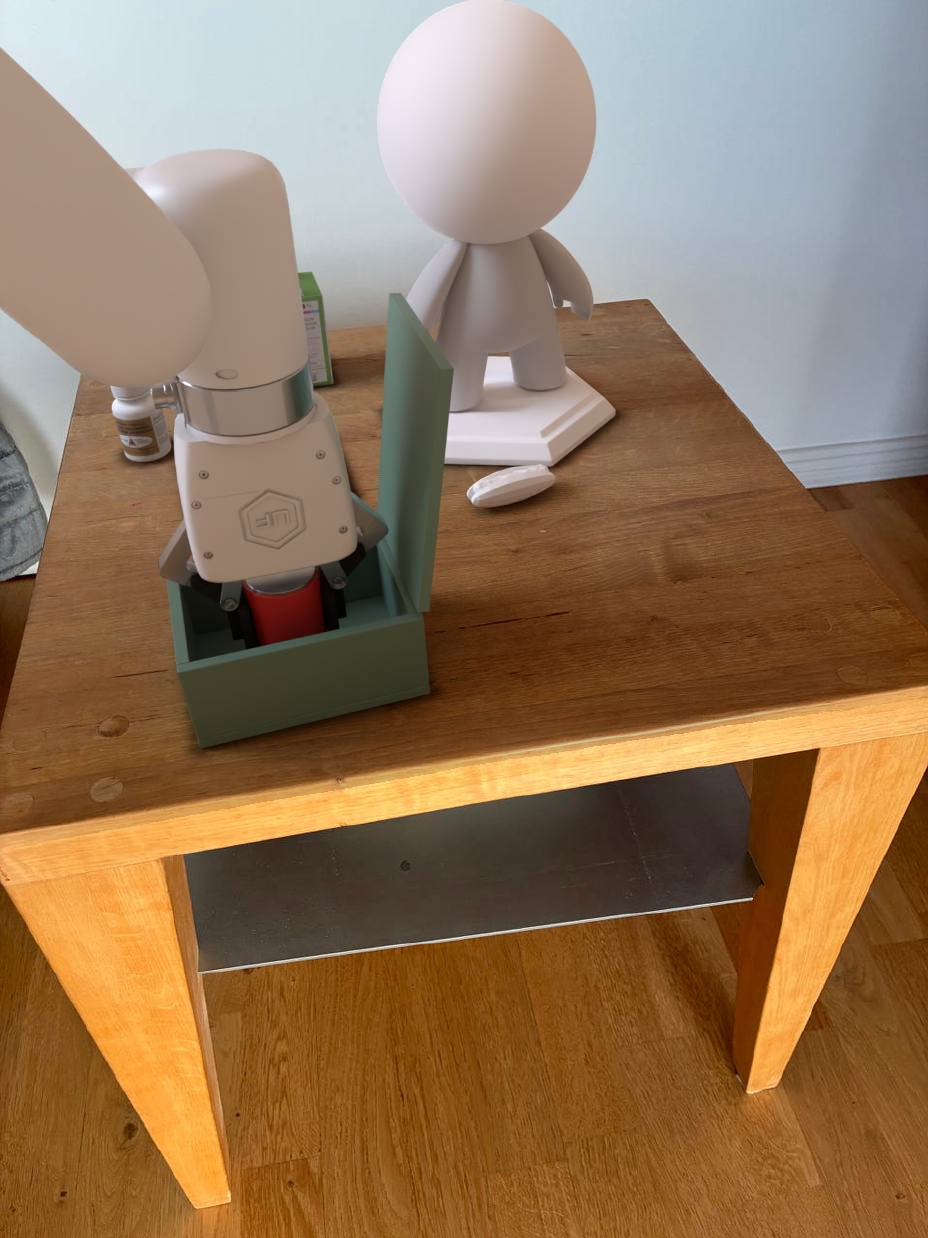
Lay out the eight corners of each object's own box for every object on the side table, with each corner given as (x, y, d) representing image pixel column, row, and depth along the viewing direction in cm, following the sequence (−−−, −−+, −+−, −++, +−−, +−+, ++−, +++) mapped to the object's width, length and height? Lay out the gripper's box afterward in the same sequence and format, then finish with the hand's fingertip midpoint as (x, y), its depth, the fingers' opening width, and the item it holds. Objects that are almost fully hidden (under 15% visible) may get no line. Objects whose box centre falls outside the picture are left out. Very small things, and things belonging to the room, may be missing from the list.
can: (264, 685, 66) (246, 601, 61) (254, 639, 70) (237, 557, 65) (336, 669, 67) (324, 585, 62) (323, 625, 71) (311, 543, 66)
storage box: (200, 749, 63) (177, 673, 59) (186, 639, 72) (164, 565, 68) (430, 693, 67) (424, 617, 62) (390, 595, 75) (382, 522, 71)
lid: (439, 369, 52) (454, 368, 52) (388, 292, 61) (401, 292, 61) (417, 613, 62) (429, 611, 62) (376, 517, 70) (387, 516, 71)
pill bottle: (118, 462, 92) (95, 387, 88) (137, 439, 96) (116, 366, 91) (161, 464, 92) (140, 389, 87) (179, 441, 95) (160, 368, 90)
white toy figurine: (536, 350, 108) (540, -26, 86) (646, 441, 92) (685, 7, 69) (367, 388, 102) (323, -3, 80) (451, 493, 86) (425, 38, 64)
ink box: (335, 384, 103) (318, 258, 95) (298, 390, 103) (278, 263, 94) (325, 358, 109) (308, 235, 100) (290, 363, 108) (269, 240, 99)
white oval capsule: (559, 495, 85) (560, 467, 83) (477, 519, 83) (475, 491, 81) (542, 478, 87) (542, 451, 86) (461, 501, 85) (460, 474, 83)
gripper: (93, 446, 51) (169, 697, 62) (407, 395, 55) (424, 641, 66) (92, 386, 57) (162, 626, 68) (377, 344, 60) (397, 579, 72)
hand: (291, 631), depth 67 cm, fingers closed on can, 5 cm apart
